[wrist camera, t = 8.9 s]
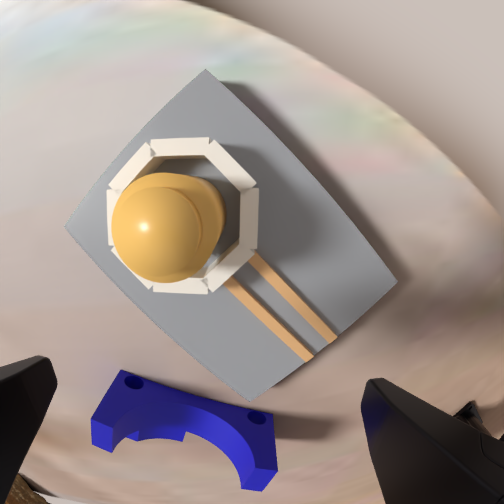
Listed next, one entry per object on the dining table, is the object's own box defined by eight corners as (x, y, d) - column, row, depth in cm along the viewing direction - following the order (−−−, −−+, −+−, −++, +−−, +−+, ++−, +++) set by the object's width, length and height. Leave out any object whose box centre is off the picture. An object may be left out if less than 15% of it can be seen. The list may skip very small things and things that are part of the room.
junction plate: (384, 272, 18) (413, 293, 14) (249, 384, 20) (249, 422, 16) (210, 80, 15) (199, 54, 11) (80, 221, 17) (44, 232, 13)
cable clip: (117, 406, 21) (92, 455, 15) (121, 368, 20) (90, 418, 14) (253, 445, 22) (254, 499, 16) (272, 412, 21) (277, 471, 15)
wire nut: (243, 213, 15) (240, 231, 10) (189, 267, 16) (161, 312, 10) (187, 159, 15) (152, 146, 9) (136, 216, 15) (83, 234, 10)
